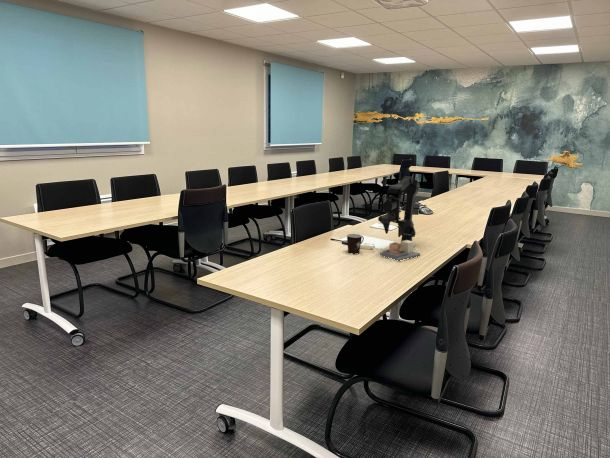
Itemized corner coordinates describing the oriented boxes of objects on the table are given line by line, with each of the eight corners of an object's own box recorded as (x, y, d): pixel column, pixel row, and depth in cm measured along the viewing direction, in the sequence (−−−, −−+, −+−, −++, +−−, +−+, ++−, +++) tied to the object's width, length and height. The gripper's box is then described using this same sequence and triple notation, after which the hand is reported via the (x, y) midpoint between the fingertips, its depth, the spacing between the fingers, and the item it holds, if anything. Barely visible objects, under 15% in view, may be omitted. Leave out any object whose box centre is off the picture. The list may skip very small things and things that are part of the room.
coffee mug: (349, 254, 240) (350, 237, 238) (344, 250, 248) (344, 234, 246) (368, 253, 243) (369, 236, 241) (362, 249, 251) (363, 233, 249)
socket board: (400, 250, 251) (401, 238, 249) (420, 256, 240) (421, 243, 238) (379, 255, 240) (380, 242, 238) (398, 261, 229) (399, 248, 228)
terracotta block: (394, 252, 241) (395, 242, 239) (401, 254, 237) (402, 244, 235) (388, 254, 238) (389, 243, 236) (395, 256, 234) (396, 245, 233)
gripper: (372, 207, 240) (370, 234, 244) (398, 213, 226) (396, 241, 229) (385, 205, 246) (384, 231, 250) (411, 210, 232) (409, 238, 236)
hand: (392, 235), depth 241 cm, fingers open, 9 cm apart
